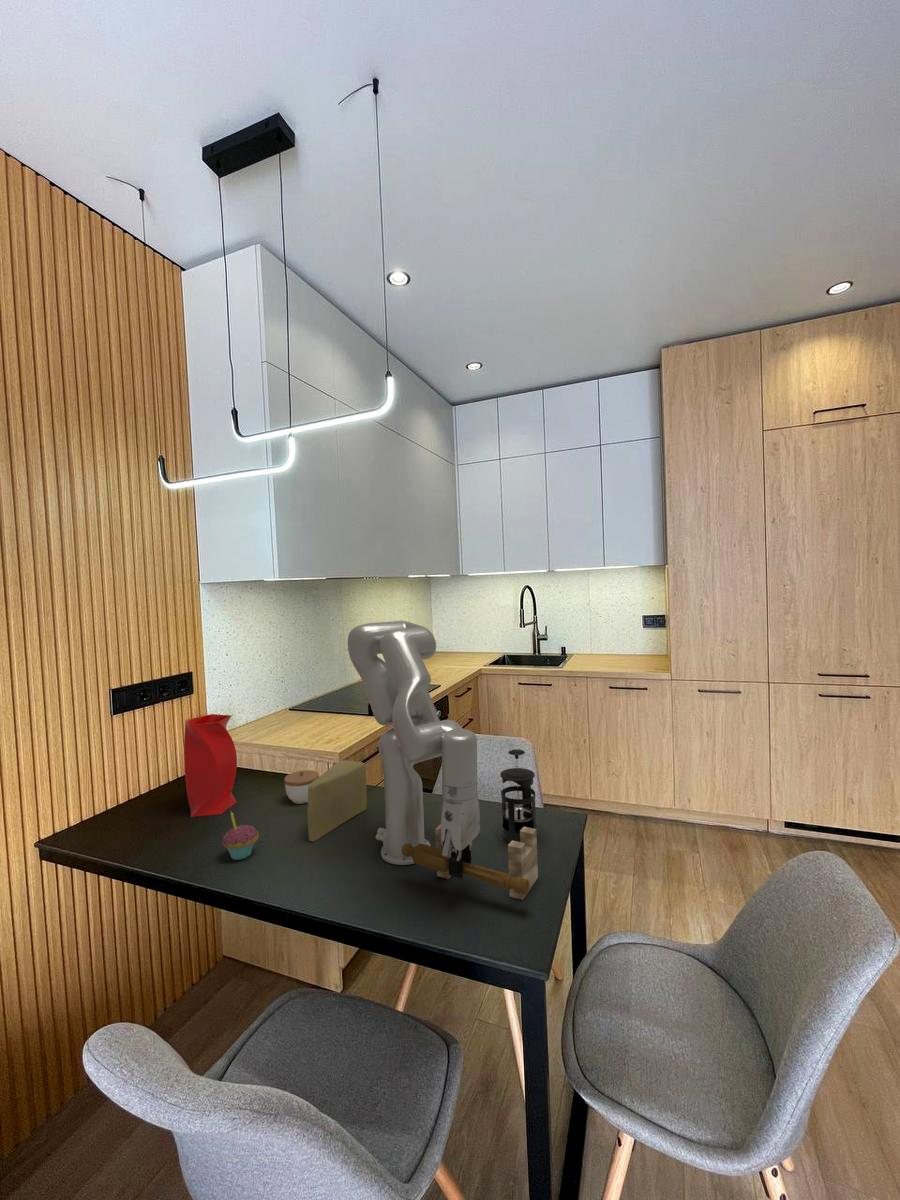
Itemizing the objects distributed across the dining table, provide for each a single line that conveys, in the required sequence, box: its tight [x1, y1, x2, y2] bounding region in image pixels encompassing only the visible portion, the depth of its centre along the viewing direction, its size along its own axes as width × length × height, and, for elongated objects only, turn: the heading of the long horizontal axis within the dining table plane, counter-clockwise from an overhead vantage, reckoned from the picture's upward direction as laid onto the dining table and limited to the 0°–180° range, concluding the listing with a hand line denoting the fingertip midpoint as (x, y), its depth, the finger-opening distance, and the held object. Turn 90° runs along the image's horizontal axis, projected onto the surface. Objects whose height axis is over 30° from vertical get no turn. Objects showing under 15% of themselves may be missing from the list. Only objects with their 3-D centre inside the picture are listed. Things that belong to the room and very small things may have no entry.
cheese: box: [307, 760, 368, 843], centre depth 145 cm, size 22×10×15 cm, turn 159°
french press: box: [500, 749, 539, 845], centre depth 133 cm, size 12×9×23 cm
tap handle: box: [401, 843, 529, 896], centre depth 109 cm, size 3×3×30 cm
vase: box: [183, 713, 238, 818], centre depth 159 cm, size 15×14×28 cm
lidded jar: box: [283, 769, 320, 805], centre depth 163 cm, size 11×11×9 cm
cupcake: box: [221, 810, 260, 861], centre depth 130 cm, size 9×8×12 cm
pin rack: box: [434, 823, 539, 901], centre depth 116 cm, size 21×9×11 cm, turn 61°
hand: (460, 870), depth 109 cm, fingers closed on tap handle, 3 cm apart
